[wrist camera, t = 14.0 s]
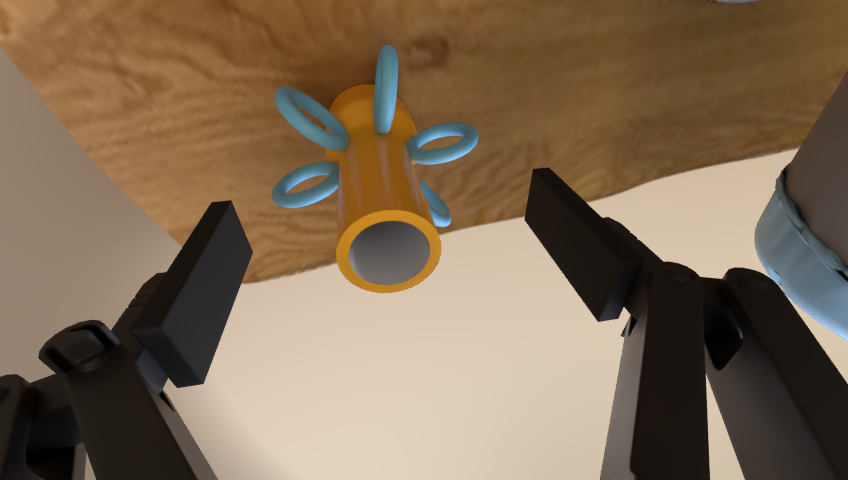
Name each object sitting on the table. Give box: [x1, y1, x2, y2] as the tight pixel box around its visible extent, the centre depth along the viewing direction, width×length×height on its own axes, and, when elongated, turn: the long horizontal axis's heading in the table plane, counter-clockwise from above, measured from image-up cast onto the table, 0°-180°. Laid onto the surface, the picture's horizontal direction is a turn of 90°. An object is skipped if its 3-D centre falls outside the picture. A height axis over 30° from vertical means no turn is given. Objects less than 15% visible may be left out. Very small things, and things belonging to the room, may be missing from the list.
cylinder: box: [272, 44, 478, 293], centre depth 19 cm, size 12×10×15 cm
